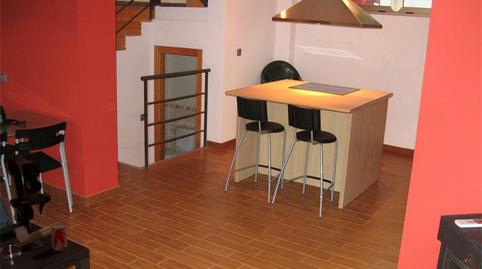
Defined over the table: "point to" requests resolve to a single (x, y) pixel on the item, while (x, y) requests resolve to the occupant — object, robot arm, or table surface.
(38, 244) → the fulcrum
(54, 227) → the soda can
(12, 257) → the table surface
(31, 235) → the beam
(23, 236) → the rider
